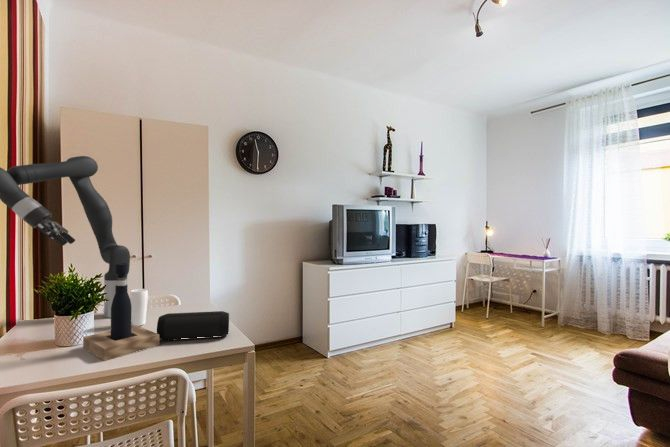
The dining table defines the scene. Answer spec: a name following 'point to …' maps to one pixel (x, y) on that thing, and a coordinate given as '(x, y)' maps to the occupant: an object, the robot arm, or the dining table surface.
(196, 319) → the portable speaker
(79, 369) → the dining table surface
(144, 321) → the drinking glass
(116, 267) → the black bottle
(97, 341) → the walnut jig
